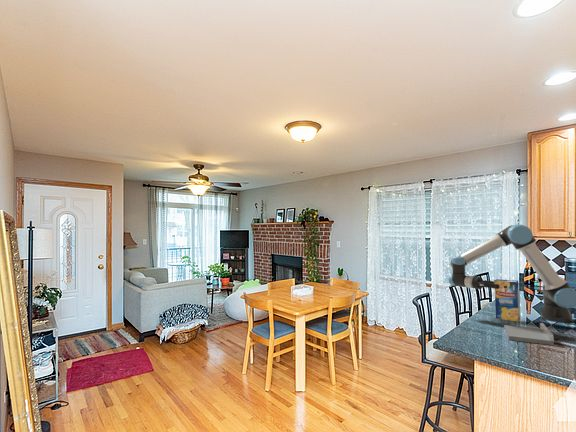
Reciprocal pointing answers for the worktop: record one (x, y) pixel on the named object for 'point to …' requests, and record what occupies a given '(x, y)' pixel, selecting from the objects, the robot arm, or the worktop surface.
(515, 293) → the beverage box
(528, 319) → the worktop surface
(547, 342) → the shelf board
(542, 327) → the price rail
